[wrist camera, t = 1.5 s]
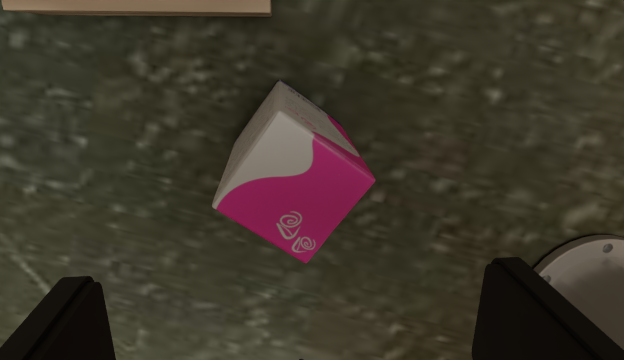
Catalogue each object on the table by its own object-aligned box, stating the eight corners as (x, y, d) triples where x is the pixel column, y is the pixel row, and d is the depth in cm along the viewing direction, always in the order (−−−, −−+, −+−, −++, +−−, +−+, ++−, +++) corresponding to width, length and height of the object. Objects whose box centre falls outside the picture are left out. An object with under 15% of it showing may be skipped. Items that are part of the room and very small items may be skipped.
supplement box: (231, 145, 30) (205, 206, 19) (279, 77, 28) (280, 101, 17) (296, 188, 31) (306, 268, 20) (344, 126, 30) (383, 175, 19)
